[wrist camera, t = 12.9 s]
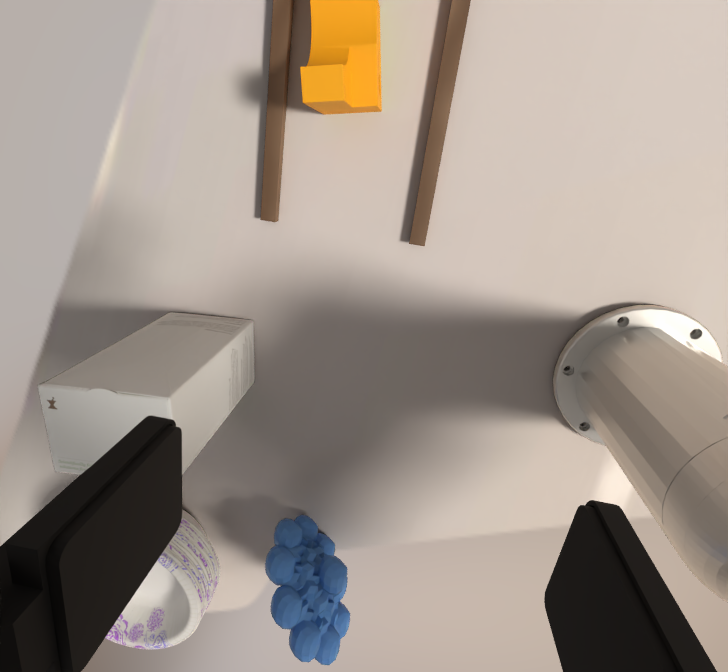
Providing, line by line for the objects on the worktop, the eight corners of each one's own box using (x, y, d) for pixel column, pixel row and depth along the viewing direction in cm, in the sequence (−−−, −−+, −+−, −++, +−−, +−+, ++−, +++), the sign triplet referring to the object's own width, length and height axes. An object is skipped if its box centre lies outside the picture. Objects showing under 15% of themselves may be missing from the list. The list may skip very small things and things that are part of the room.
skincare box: (173, 372, 43) (47, 475, 29) (168, 305, 41) (27, 380, 26) (259, 383, 42) (174, 494, 28) (258, 315, 40) (166, 398, 26)
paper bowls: (139, 594, 54) (94, 661, 47) (77, 491, 50) (17, 548, 42) (253, 577, 51) (224, 646, 44) (198, 466, 47) (155, 522, 39)
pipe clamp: (381, 111, 33) (372, 98, 27) (323, 114, 34) (302, 102, 28) (378, -94, 29) (366, -162, 23) (312, -87, 30) (284, -152, 24)
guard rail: (507, -147, 28) (519, -190, 24) (431, 245, 36) (432, 253, 33) (277, -172, 29) (259, -216, 25) (256, 217, 37) (240, 222, 34)
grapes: (387, 560, 48) (376, 680, 37) (335, 582, 50) (310, 701, 39) (324, 479, 45) (291, 581, 34) (272, 505, 47) (225, 610, 36)
